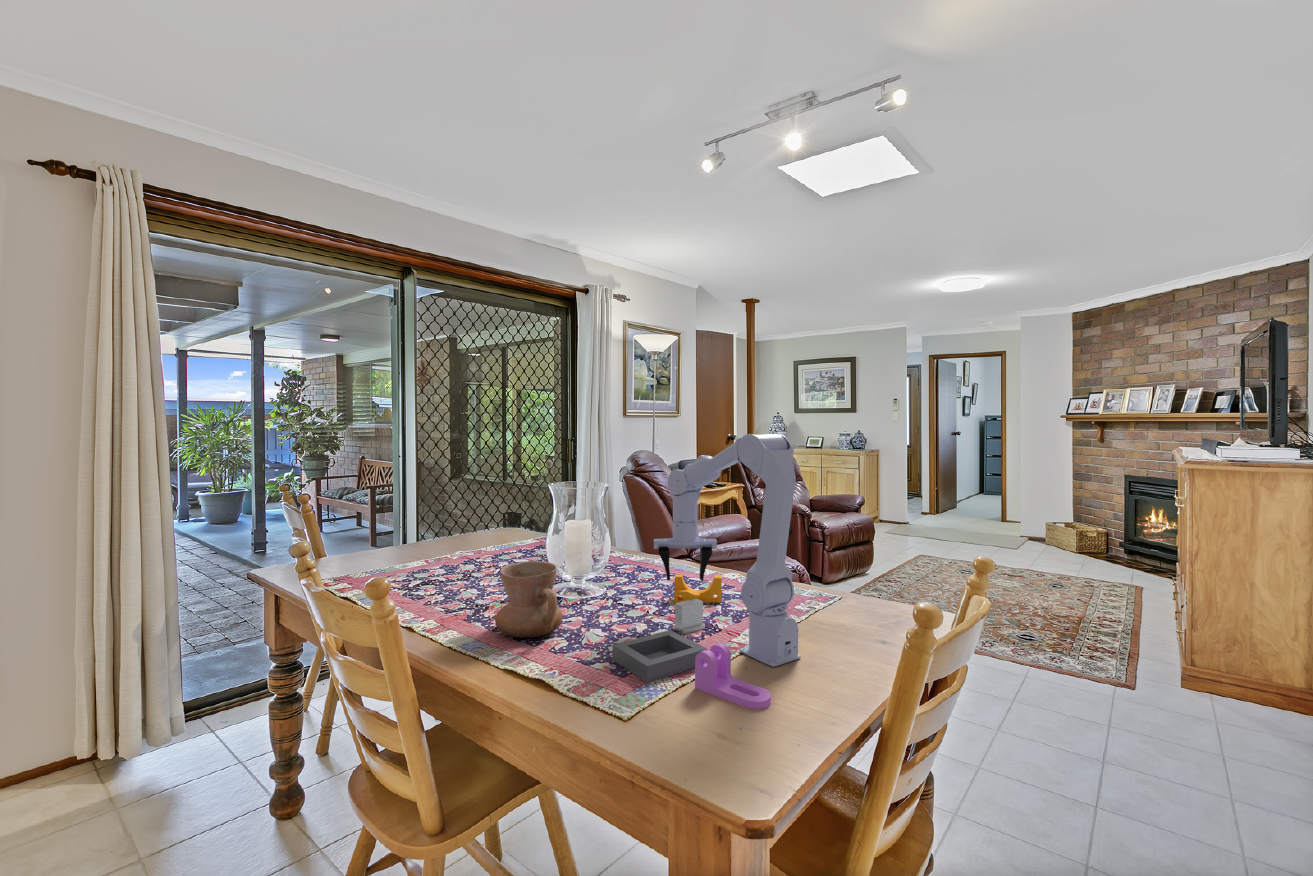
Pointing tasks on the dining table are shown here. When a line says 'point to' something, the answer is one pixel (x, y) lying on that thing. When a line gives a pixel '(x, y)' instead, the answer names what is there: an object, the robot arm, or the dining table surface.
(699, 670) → the bracket
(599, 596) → the dining table surface
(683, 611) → the grey block
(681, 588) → the pipe clamp
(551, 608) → the ceramic jug
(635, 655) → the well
